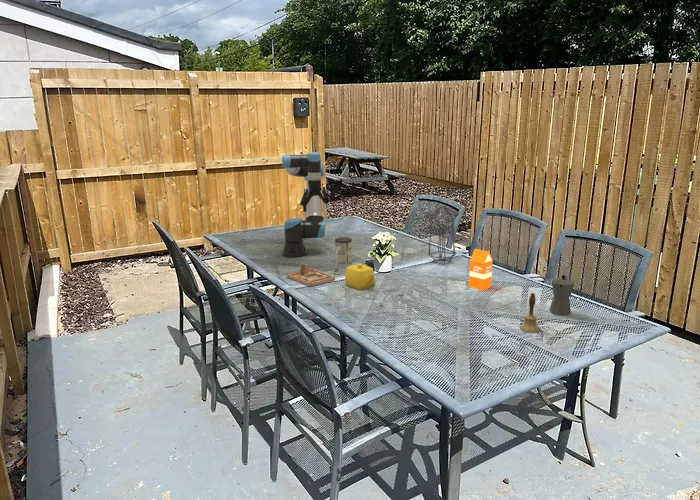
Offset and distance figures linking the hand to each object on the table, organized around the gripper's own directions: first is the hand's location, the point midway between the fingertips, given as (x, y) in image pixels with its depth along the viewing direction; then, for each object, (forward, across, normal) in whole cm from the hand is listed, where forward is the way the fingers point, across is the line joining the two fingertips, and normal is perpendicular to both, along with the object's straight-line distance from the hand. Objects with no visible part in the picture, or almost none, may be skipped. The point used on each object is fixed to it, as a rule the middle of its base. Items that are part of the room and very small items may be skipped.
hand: (315, 215), depth 313 cm
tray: (+31, -18, -18) cm, 40 cm away
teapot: (+31, -5, -45) cm, 55 cm away
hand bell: (+31, +10, -136) cm, 140 cm away
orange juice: (+31, +40, -89) cm, 102 cm away
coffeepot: (+31, +38, -135) cm, 144 cm away
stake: (+31, -1, -20) cm, 37 cm away
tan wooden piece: (+30, -18, -18) cm, 39 cm away
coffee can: (+31, +18, -4) cm, 36 cm away
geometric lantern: (+31, +61, -45) cm, 82 cm away
